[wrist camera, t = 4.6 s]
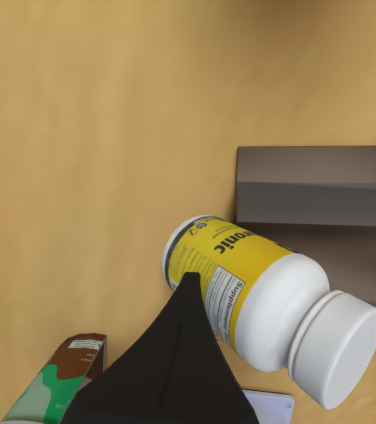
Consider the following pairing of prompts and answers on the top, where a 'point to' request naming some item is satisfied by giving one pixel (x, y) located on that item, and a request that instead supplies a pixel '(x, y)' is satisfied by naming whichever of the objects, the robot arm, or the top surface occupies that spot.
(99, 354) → the food container
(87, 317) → the top surface
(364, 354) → the supplement bottle
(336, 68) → the top surface
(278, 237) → the bottle rest
